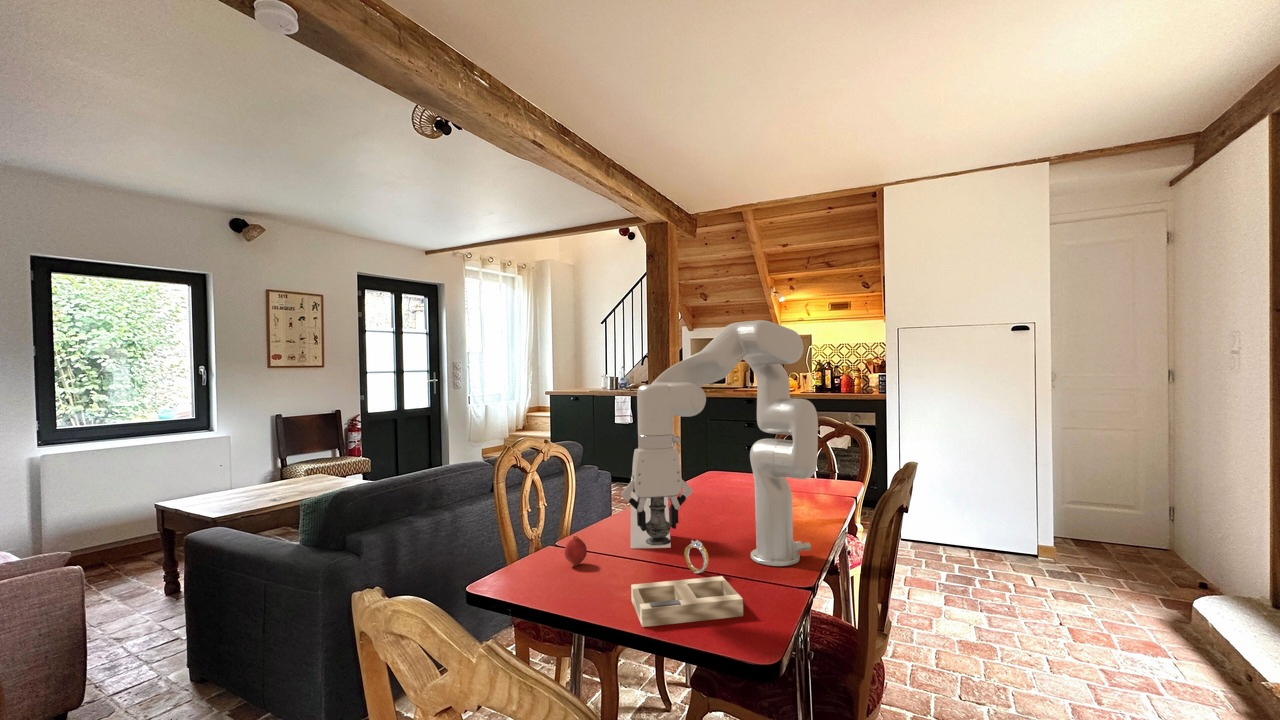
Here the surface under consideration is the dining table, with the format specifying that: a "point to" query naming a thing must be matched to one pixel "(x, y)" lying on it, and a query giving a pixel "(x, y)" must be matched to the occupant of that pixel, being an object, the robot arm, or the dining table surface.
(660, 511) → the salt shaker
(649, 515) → the milk
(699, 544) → the gemstone ring
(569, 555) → the onion
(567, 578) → the dining table surface
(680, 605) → the wooden compartment tray
